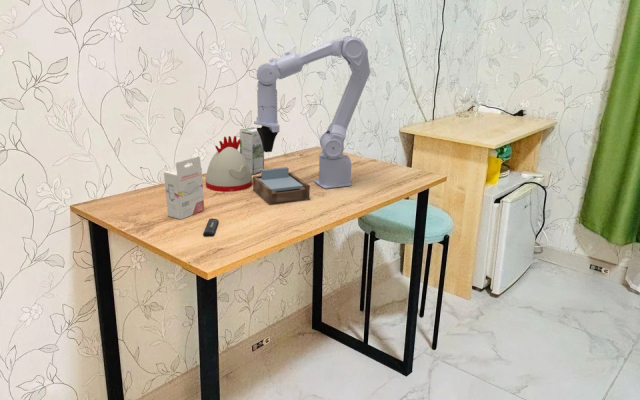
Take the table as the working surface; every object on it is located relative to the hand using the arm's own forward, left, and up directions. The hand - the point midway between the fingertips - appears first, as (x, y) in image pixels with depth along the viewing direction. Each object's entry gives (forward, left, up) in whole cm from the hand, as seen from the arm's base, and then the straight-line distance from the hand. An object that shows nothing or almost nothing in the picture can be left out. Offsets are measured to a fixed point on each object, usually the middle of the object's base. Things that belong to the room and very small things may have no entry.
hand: (267, 151), depth 155 cm
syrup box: (0, -15, -11) cm, 19 cm away
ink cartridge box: (+28, +16, -11) cm, 34 cm away
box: (0, +11, -10) cm, 15 cm away
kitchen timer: (+11, -4, -11) cm, 16 cm away
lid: (0, +10, -7) cm, 13 cm away
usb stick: (+25, +29, -11) cm, 39 cm away
